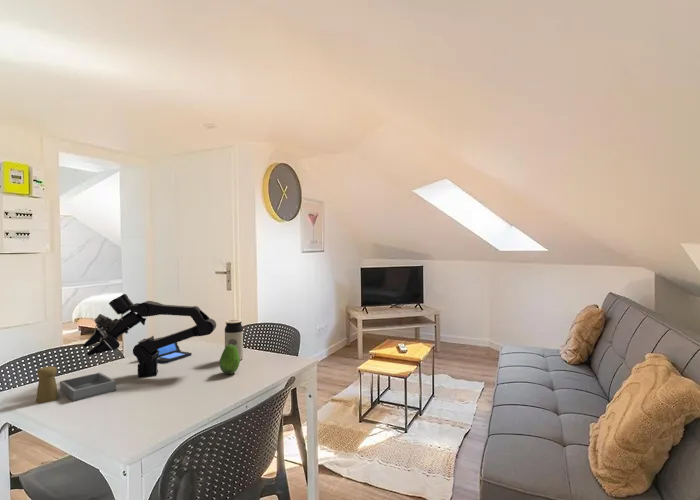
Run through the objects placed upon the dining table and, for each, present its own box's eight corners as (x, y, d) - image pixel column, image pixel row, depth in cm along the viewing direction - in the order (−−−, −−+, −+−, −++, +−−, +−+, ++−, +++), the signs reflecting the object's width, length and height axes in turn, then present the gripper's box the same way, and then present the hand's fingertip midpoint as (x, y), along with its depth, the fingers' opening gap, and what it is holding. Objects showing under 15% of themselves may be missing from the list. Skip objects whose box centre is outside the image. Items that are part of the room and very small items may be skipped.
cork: (45, 403, 124) (45, 370, 124) (30, 402, 125) (30, 369, 125) (62, 396, 130) (62, 365, 130) (48, 395, 131) (48, 364, 131)
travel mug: (229, 356, 178) (229, 319, 178) (245, 357, 177) (245, 319, 177) (221, 361, 170) (221, 322, 171) (238, 362, 169) (238, 322, 169)
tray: (59, 390, 135) (59, 381, 136) (99, 381, 145) (99, 372, 145) (73, 401, 126) (73, 391, 126) (115, 390, 136) (115, 380, 136)
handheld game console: (165, 364, 168) (164, 343, 168) (144, 361, 174) (144, 340, 174) (193, 355, 182) (193, 336, 182) (173, 352, 188) (173, 334, 188)
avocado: (240, 375, 152) (240, 345, 152) (219, 377, 149) (219, 347, 149) (239, 369, 159) (239, 341, 159) (219, 371, 157) (219, 342, 157)
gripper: (107, 302, 154) (68, 327, 146) (117, 315, 140) (74, 343, 132) (124, 322, 159) (87, 347, 151) (135, 336, 145) (94, 364, 138)
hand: (85, 350), depth 143 cm, fingers open, 9 cm apart
